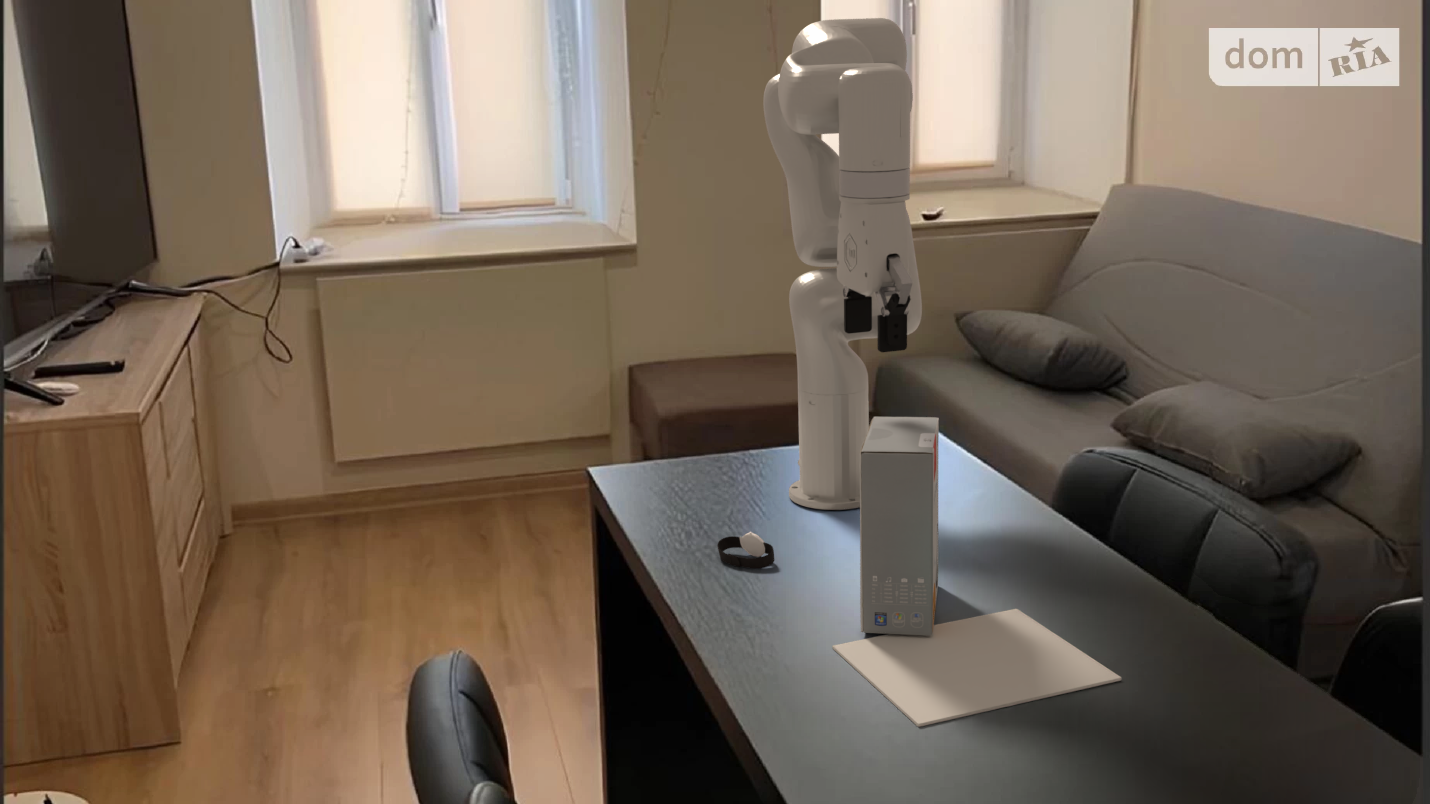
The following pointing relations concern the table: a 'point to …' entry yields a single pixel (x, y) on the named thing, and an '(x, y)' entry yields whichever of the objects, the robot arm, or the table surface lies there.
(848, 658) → the mat
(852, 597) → the table surface
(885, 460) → the hard drive box
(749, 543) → the watch
